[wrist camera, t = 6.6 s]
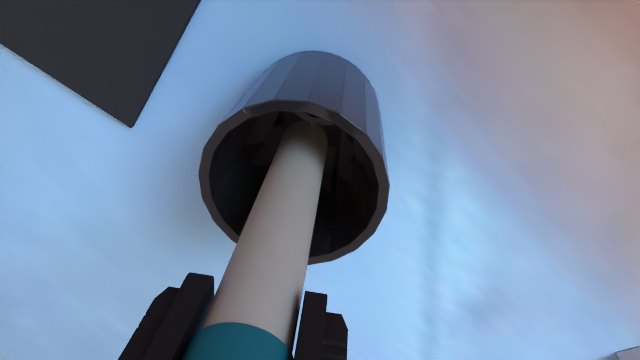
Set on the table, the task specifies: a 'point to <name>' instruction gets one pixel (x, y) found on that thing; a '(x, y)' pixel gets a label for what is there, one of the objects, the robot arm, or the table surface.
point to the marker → (268, 259)
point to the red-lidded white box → (629, 354)
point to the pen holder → (341, 157)
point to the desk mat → (98, 45)
